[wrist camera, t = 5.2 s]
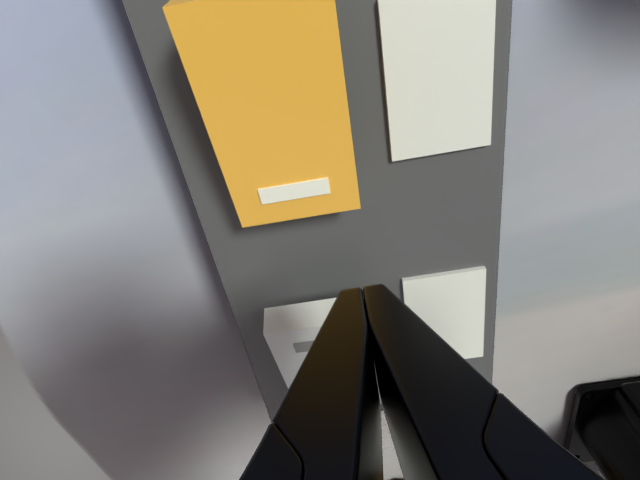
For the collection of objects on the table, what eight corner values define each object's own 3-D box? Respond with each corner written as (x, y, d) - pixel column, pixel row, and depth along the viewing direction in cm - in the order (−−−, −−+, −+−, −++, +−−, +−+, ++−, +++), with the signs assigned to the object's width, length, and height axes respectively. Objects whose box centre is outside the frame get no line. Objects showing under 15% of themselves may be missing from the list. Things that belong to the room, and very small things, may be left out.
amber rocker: (356, 189, 13) (361, 209, 12) (245, 208, 13) (242, 228, 13) (328, -34, 9) (331, -27, 8) (173, -3, 10) (161, 7, 9)
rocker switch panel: (469, 347, 21) (495, 405, 18) (276, 374, 22) (271, 434, 19) (475, -186, 11) (536, -253, 8) (124, -108, 12) (61, -144, 9)
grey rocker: (382, 379, 18) (387, 404, 17) (299, 391, 18) (299, 415, 17) (372, 292, 14) (377, 319, 13) (264, 308, 14) (263, 335, 13)
